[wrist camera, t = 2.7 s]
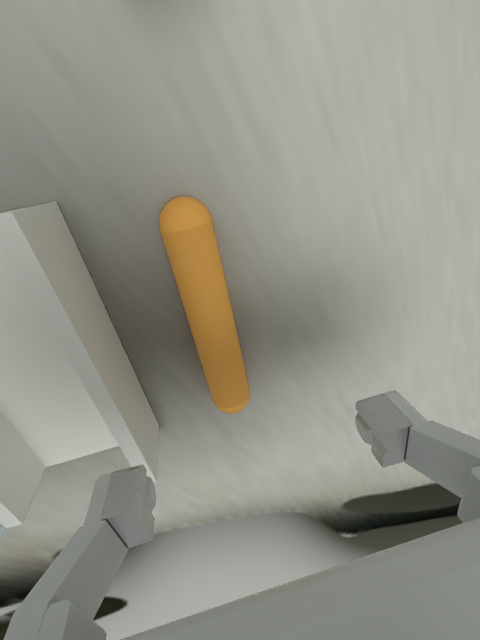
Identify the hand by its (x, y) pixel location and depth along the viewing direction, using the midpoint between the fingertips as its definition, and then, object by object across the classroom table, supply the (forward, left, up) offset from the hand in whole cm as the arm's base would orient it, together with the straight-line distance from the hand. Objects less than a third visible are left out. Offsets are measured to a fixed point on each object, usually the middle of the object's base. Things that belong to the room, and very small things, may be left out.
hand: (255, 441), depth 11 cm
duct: (-12, 0, -11) cm, 16 cm away
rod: (0, 0, -12) cm, 12 cm away
